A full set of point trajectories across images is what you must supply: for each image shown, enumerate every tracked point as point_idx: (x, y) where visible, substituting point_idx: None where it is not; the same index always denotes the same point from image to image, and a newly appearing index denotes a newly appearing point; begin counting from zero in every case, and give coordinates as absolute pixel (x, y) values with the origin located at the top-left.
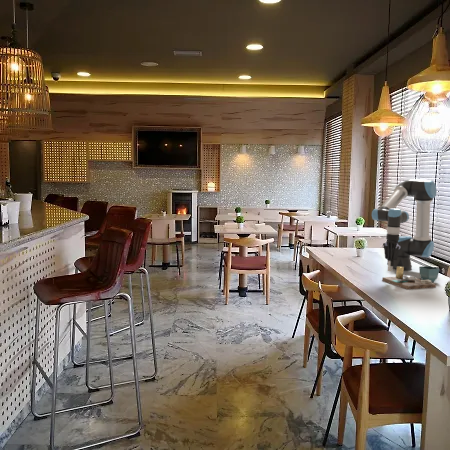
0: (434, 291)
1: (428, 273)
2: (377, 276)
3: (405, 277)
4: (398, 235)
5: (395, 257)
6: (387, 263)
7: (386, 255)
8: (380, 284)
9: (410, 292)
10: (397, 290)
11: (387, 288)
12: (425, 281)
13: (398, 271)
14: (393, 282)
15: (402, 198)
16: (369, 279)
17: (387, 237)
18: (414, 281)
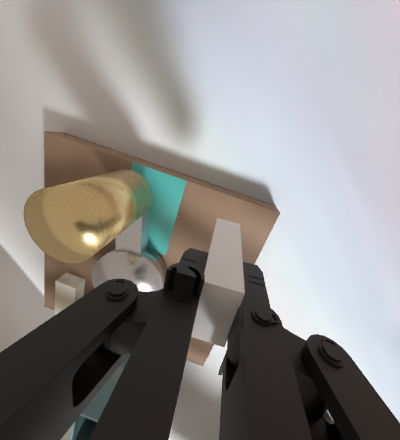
0: (2, 223)
1: None
2: (351, 284)
3: (126, 253)
4: None
5: (40, 342)
6: (262, 279)
7: (347, 426)
8: (223, 80)
9: (3, 72)
10: (59, 30)
11: (122, 6)
12: (57, 287)
13: (83, 179)
14: (172, 174)
15: None
16: (361, 155)
17: None
18: None
